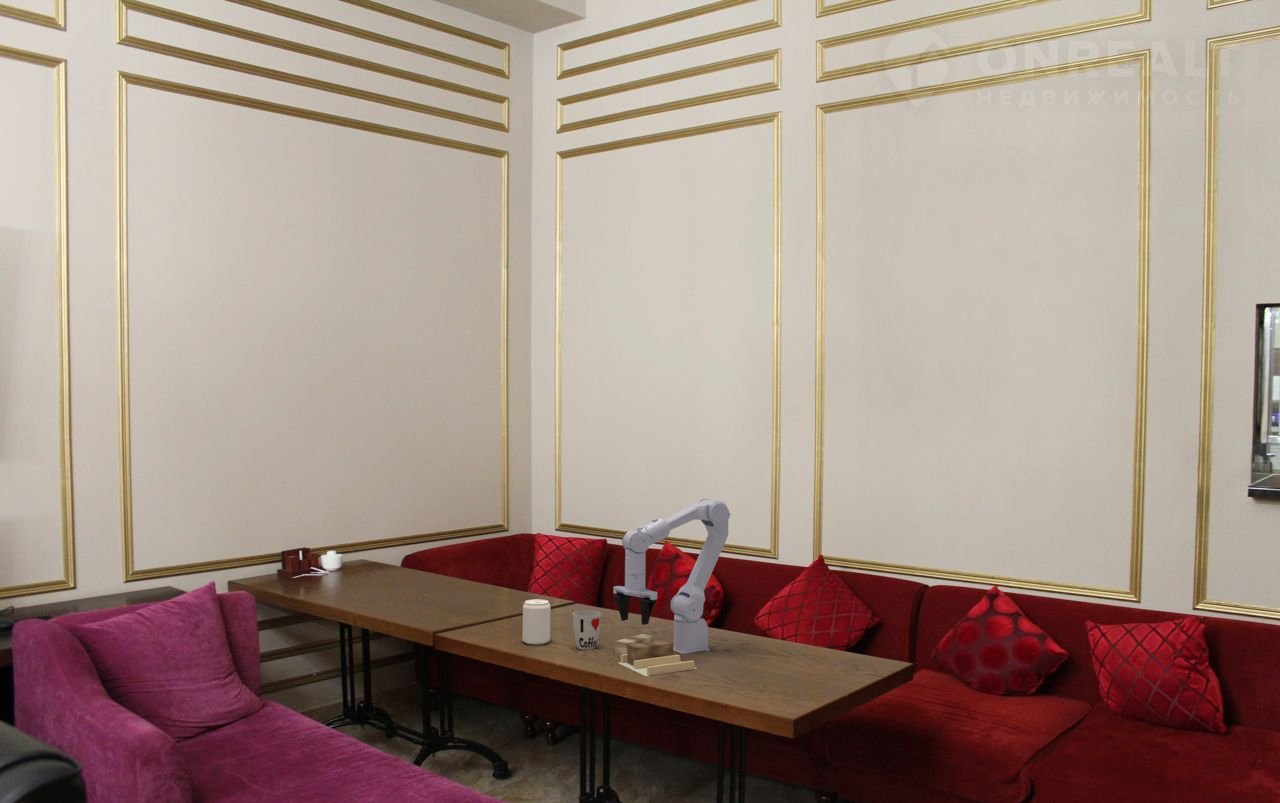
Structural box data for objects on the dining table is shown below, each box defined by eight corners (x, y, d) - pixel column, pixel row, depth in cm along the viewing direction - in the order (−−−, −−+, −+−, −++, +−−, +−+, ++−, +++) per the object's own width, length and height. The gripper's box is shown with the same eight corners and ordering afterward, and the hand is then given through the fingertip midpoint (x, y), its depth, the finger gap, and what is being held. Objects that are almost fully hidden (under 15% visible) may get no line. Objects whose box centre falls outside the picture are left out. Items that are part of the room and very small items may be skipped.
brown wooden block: (665, 658, 270) (665, 640, 270) (673, 661, 266) (673, 643, 266) (627, 663, 264) (627, 644, 264) (634, 666, 260) (635, 648, 260)
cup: (575, 652, 278) (575, 616, 278) (569, 645, 285) (570, 611, 286) (603, 650, 280) (603, 615, 280) (596, 644, 288) (597, 609, 288)
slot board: (667, 657, 272) (667, 648, 272) (697, 670, 259) (697, 660, 259) (617, 664, 264) (617, 655, 264) (645, 678, 251) (645, 668, 251)
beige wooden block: (642, 651, 280) (642, 633, 280) (653, 653, 278) (653, 636, 278) (615, 659, 271) (615, 641, 271) (626, 661, 269) (626, 643, 269)
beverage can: (517, 643, 287) (517, 602, 287) (532, 637, 294) (533, 597, 294) (540, 646, 283) (540, 605, 284) (555, 641, 291) (555, 600, 291)
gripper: (606, 572, 276) (606, 620, 276) (646, 578, 267) (645, 628, 267) (622, 569, 282) (622, 616, 282) (662, 575, 272) (661, 624, 272)
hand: (634, 622), depth 275 cm, fingers open, 7 cm apart
